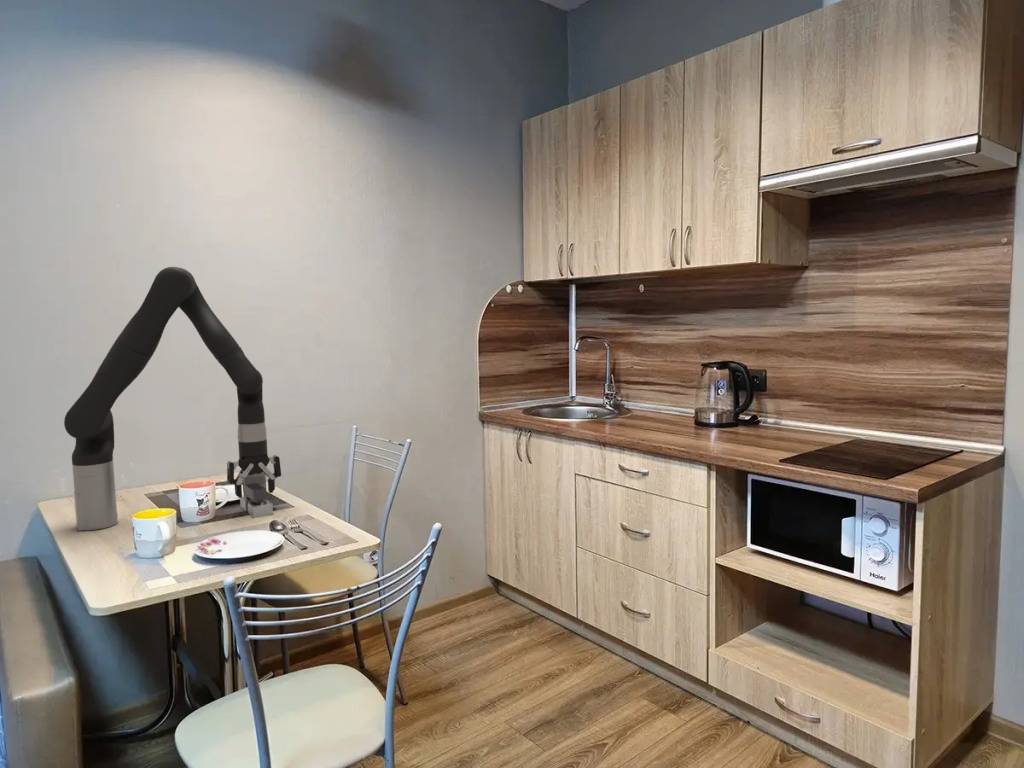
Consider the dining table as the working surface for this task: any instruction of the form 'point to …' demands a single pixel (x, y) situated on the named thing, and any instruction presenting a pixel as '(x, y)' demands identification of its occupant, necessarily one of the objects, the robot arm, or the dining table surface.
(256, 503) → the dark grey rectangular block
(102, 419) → the robot arm
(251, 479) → the coffee box
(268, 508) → the grey stone base block
